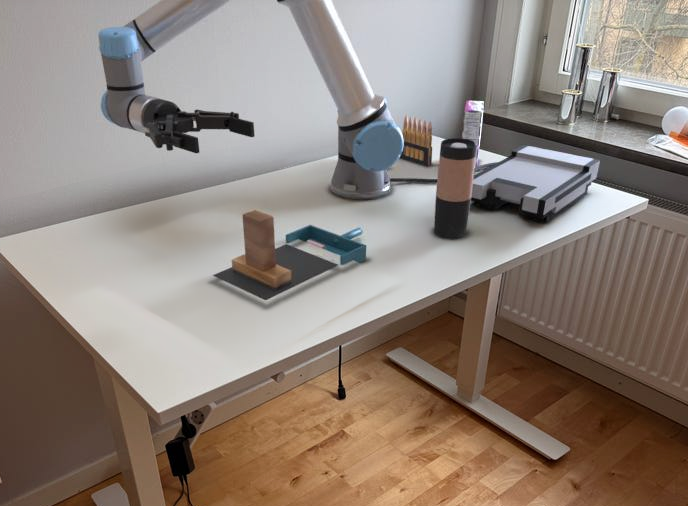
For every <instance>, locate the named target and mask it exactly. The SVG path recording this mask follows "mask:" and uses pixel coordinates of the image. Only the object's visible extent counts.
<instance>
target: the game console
mask: <svg viewBox="0 0 688 506" xmlns="http://www.w3.org/2000/svg"><path fill="white" fill-rule="evenodd" d="M510 153H511V154H510V155H509V156H508V157H506V158H503V159H502V160H500V161H497V162H498V163H496V164H494V165H492V166H490V167H487V168H484V169H482V170H481V171H478V172H476V173H475V174H474V177H473V186H472V196H471V202H472V205H475V206H477V207H482V208H486V209H491V210H493V211H494V210H497V209H499V208H500V207H502V206H504V205H505V204H506V203H508V202H509V203H513V204H517V205H519V208H518V213H519V214H522V215H521V217H522V218H526V219H530V220H533V221H537V222H540V223H544V224H547V223H549V221H551V220H552V219H554V218H555V217H556V216H558V215H559V214H561V213H562V212H564V211H565V210H566V209H568V208H569V207H570V206H571V205H573V204H575V203H576V202H577V201H579V200H580V199H582V198H583V197H584V196H585V195H587V194H588V189H589V187H590V186H591V185H592V182H593V181H594V180H596V179H597V177H598V173H599V167H600V164H601V160H600V159H596V158H592V157H586V156H582V155H577V154H571V153H566V152H562V151H556V150H551V149H546V148H541V147H536V146H531V145H526V144H522V145H520V146H518V147H516V148H515V149H513V150H511V152H510Z"/></svg>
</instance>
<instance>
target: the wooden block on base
mask: <svg viewBox="0 0 688 506" xmlns="http://www.w3.org/2000/svg"><path fill="white" fill-rule="evenodd" d="M242 228H243V241H244V242H243V243H244V254H241V255H239V256H237V257H234V258H232V259H231V267H232V268H233V271H234V272H236V273H238V274H240V275H243V276H245V277H247V278H249V279H251V280H253V281H256V282H258V283H260V284H262V285H264V286H267V287H269V288H271V289H273V290H276V289H279V288H281V287H283V286H285V285H287V284H289V283H291V270H288V269H286V268H284V267H281V266H279V265H277V264H276V259H275V249H276V243H275V238H276V237H275V221H274V216H273V215H271V214H268V213H266V212H262V211H260V210H257V209H253V210H251V211H248V212H246V213H243V214H242Z"/></svg>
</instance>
